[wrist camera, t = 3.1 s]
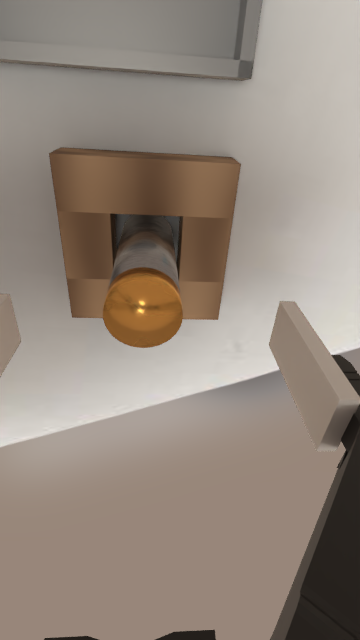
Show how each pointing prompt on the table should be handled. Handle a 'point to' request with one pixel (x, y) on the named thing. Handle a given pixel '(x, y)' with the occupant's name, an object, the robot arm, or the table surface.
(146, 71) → the tray
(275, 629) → the robot arm
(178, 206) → the socket block
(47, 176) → the table surface
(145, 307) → the pin
